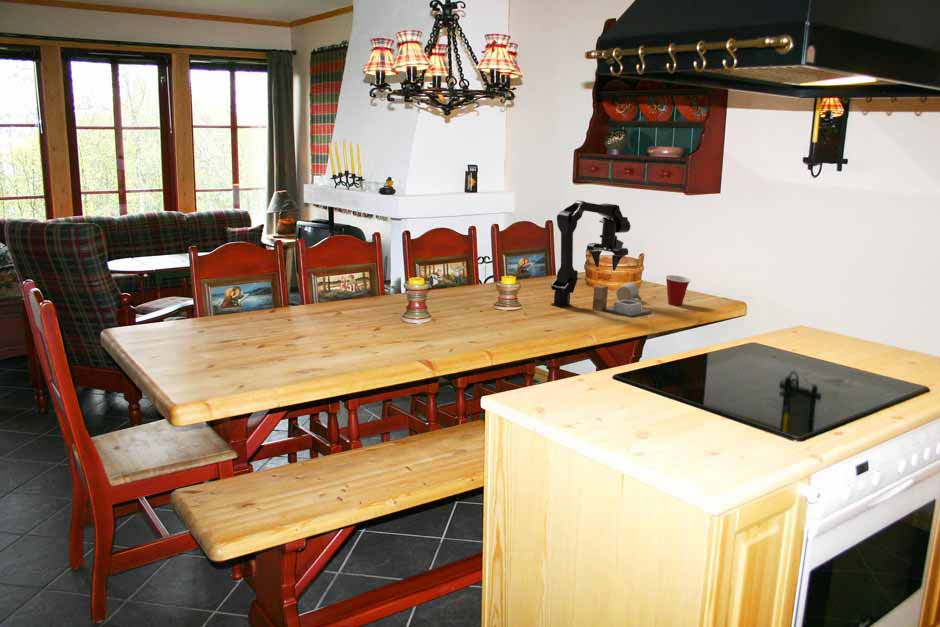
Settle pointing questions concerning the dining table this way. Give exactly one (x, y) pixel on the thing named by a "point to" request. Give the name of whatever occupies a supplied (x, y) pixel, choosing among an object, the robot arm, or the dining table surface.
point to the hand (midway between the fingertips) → (605, 268)
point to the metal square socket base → (627, 308)
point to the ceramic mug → (628, 292)
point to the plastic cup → (676, 289)
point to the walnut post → (600, 297)
